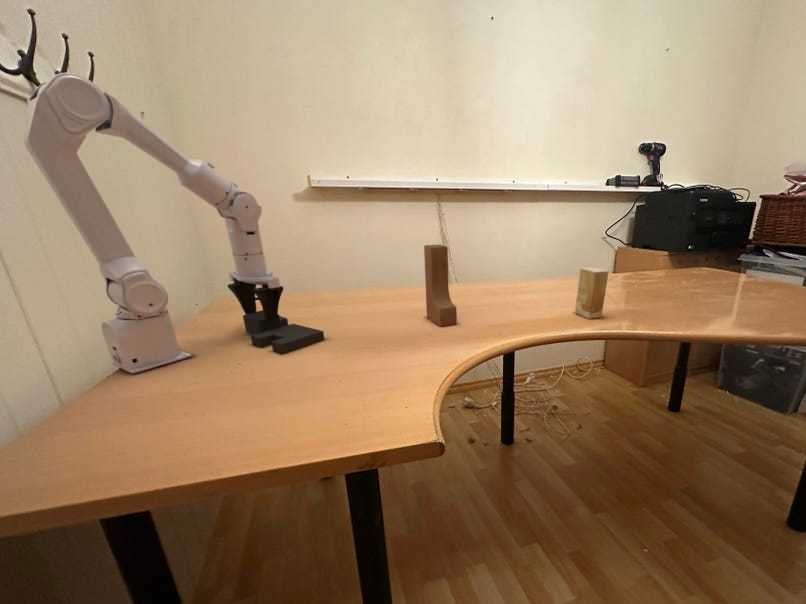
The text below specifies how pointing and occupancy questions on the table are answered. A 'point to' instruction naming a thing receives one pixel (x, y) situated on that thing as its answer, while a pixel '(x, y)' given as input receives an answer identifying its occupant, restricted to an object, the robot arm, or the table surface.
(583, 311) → the cosmetic box
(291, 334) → the base pad
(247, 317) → the pad
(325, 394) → the table surface
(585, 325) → the table surface
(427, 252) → the wooden block
